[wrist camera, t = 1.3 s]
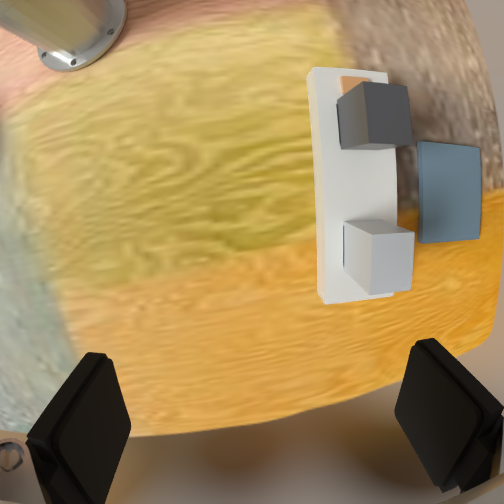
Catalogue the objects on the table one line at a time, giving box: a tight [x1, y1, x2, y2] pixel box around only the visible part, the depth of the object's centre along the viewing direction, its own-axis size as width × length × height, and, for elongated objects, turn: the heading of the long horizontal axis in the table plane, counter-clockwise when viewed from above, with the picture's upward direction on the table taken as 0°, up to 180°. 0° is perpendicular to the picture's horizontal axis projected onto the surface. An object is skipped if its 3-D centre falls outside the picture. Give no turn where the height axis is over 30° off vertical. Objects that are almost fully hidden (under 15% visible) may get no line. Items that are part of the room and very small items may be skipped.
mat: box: [417, 141, 481, 244], centre depth 32 cm, size 12×10×1 cm
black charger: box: [337, 81, 413, 150], centre depth 25 cm, size 5×4×8 cm
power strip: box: [306, 67, 397, 304], centre depth 30 cm, size 24×8×4 cm, turn 4°
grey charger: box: [343, 220, 415, 295], centre depth 28 cm, size 5×4×8 cm
